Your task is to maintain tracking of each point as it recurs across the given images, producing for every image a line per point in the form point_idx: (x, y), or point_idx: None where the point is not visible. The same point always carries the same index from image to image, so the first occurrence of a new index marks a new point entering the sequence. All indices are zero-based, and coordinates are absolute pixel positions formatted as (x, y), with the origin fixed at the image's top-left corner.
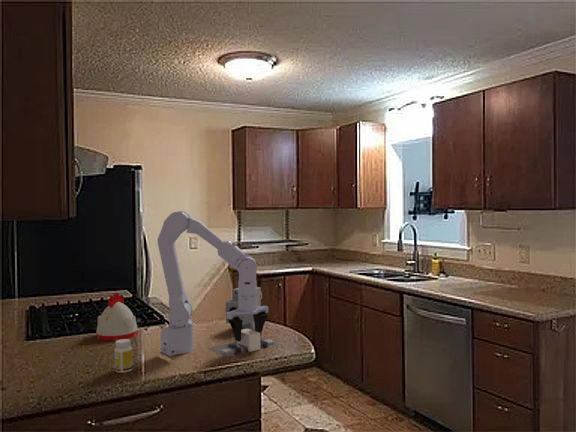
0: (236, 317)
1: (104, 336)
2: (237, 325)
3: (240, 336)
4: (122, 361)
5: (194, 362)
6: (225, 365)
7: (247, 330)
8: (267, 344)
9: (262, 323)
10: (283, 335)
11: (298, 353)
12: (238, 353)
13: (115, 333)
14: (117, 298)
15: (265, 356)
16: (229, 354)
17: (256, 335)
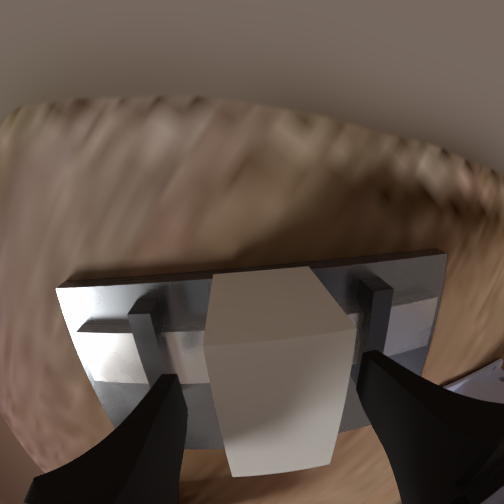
0: (494, 486)
1: None
2: (492, 403)
3: (389, 366)
4: None
5: (498, 299)
6: (472, 184)
7: (265, 449)
8: (135, 304)
9: (121, 451)
10: (25, 406)
11: (42, 116)
12: (380, 274)
13: None
14: None
15: (233, 168)
16: (420, 286)
17: (256, 329)
